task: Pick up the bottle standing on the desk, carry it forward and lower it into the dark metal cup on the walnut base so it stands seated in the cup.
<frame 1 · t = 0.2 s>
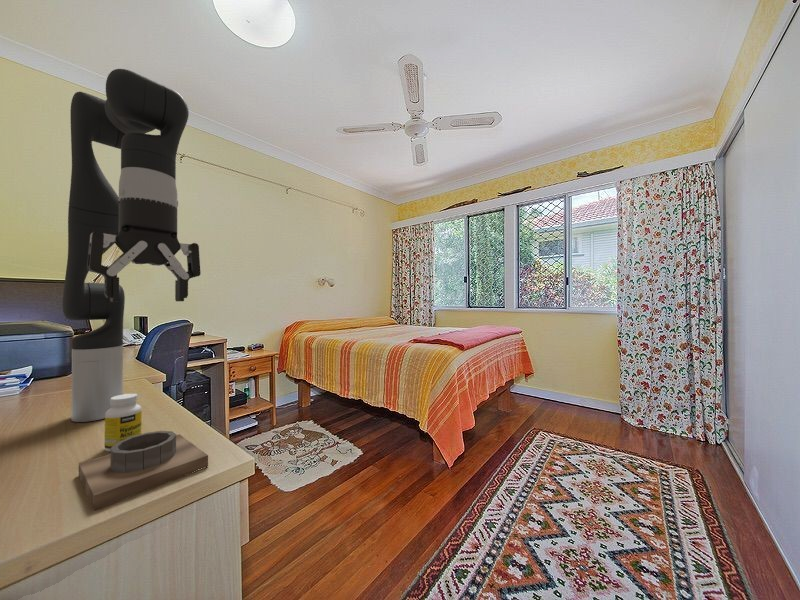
hand: (149, 301, 51), 28 cm above the table, tool pointing down, fingers open, 8 cm apart
cup bracket: (144, 471, 52), on the table
supplement bottle: (123, 447, 61), on the table
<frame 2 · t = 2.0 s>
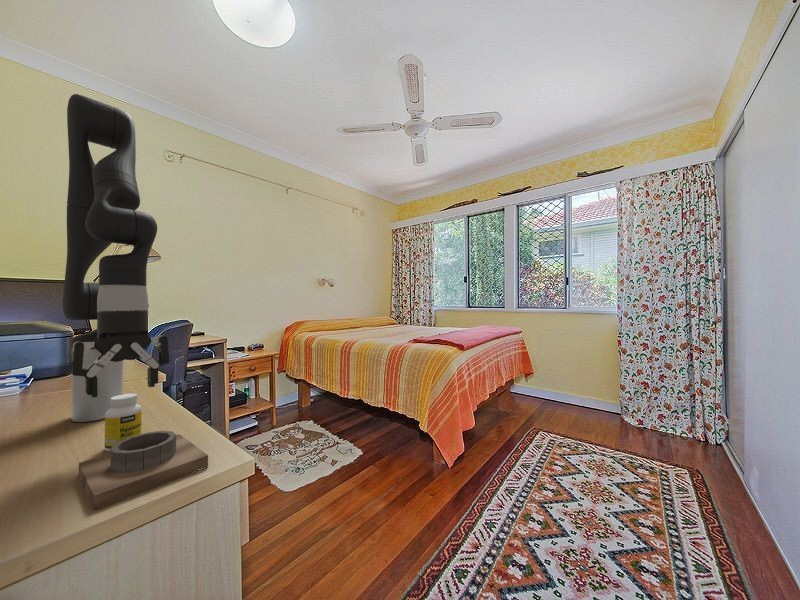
hand: (123, 391, 61), 11 cm above the table, tool pointing down, fingers open, 8 cm apart
nothing on the table moved.
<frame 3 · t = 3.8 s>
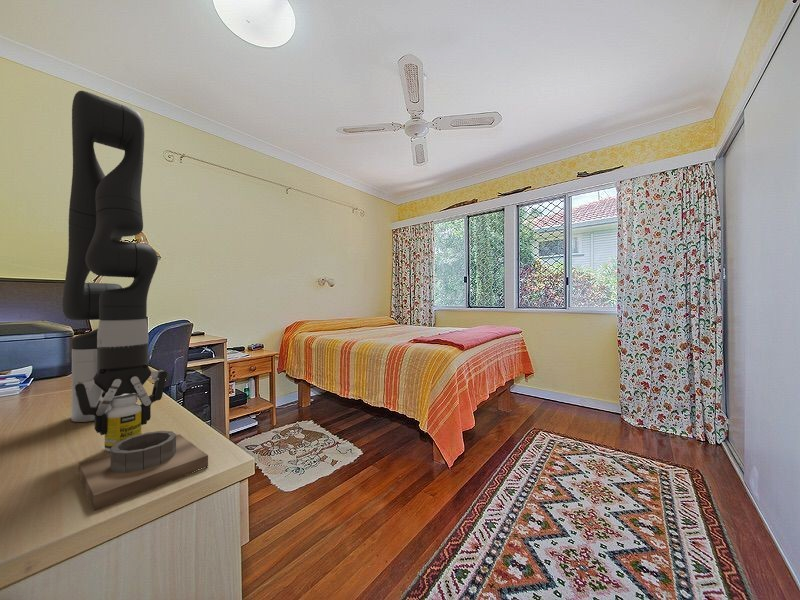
hand: (123, 428, 61), 3 cm above the table, tool pointing down, fingers closed on supplement bottle, 5 cm apart
supplement bottle: (123, 447, 61), on the table, touching gripper
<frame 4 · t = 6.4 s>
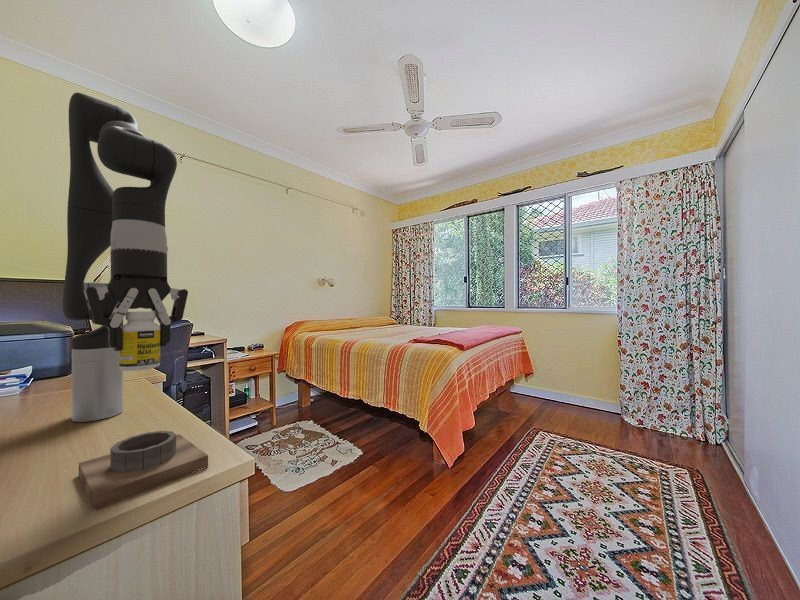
hand: (140, 347, 53), 20 cm above the table, tool pointing down, fingers closed on supplement bottle, 5 cm apart
supplement bottle: (140, 369, 53), point 17 cm above the table, touching gripper
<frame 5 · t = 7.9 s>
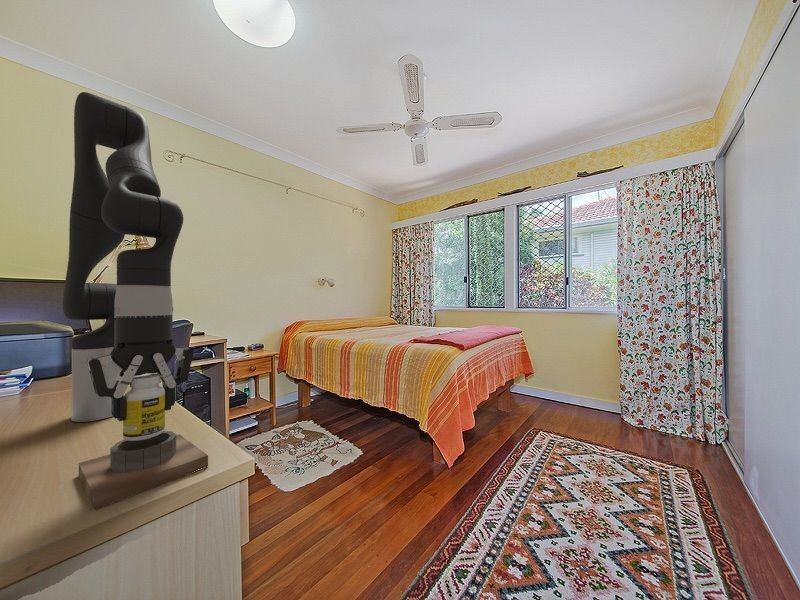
hand: (144, 413, 52), 10 cm above the table, tool pointing down, fingers closed on supplement bottle, 5 cm apart
supplement bottle: (144, 436, 52), point 6 cm above the table, touching gripper
when the fingers open (7 cm above the table, at t = 9.3 s): supplement bottle drops 1 cm, resting on cup bracket.
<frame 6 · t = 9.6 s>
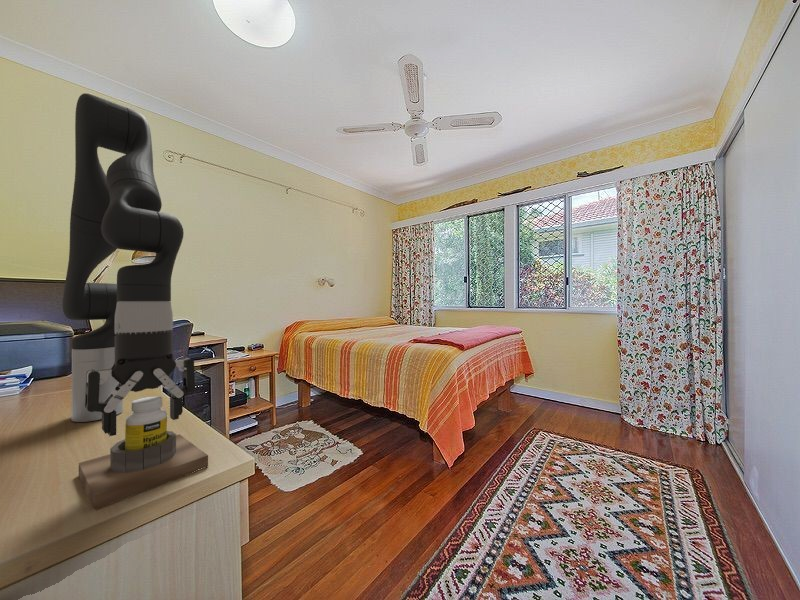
hand: (144, 426, 52), 8 cm above the table, tool pointing down, fingers open, 8 cm apart
supplement bottle: (146, 459, 52), point 2 cm above the table, touching cup bracket
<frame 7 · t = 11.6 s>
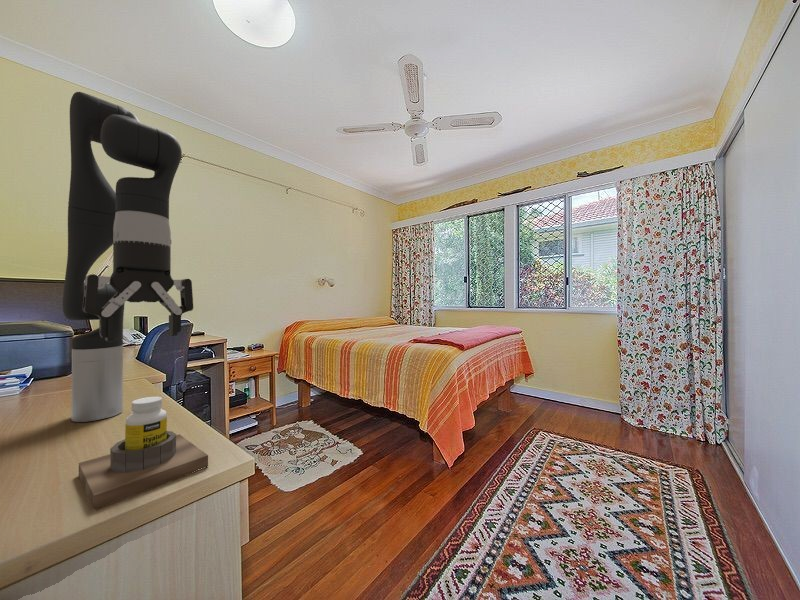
hand: (142, 338, 53), 22 cm above the table, tool pointing down, fingers open, 8 cm apart
nothing on the table moved.
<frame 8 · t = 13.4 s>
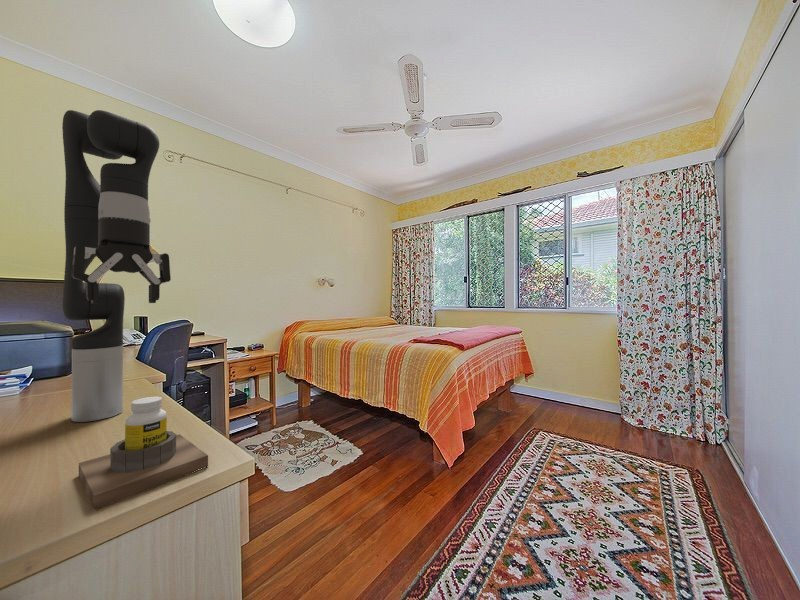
hand: (125, 303, 61), 28 cm above the table, tool pointing down, fingers open, 8 cm apart
nothing on the table moved.
at the end: supplement bottle 0.2 cm off-centre on the cup bracket, point 1.8 cm above the cup bracket's base; supplement bottle tilted 0°; the gripper is holding nothing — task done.
